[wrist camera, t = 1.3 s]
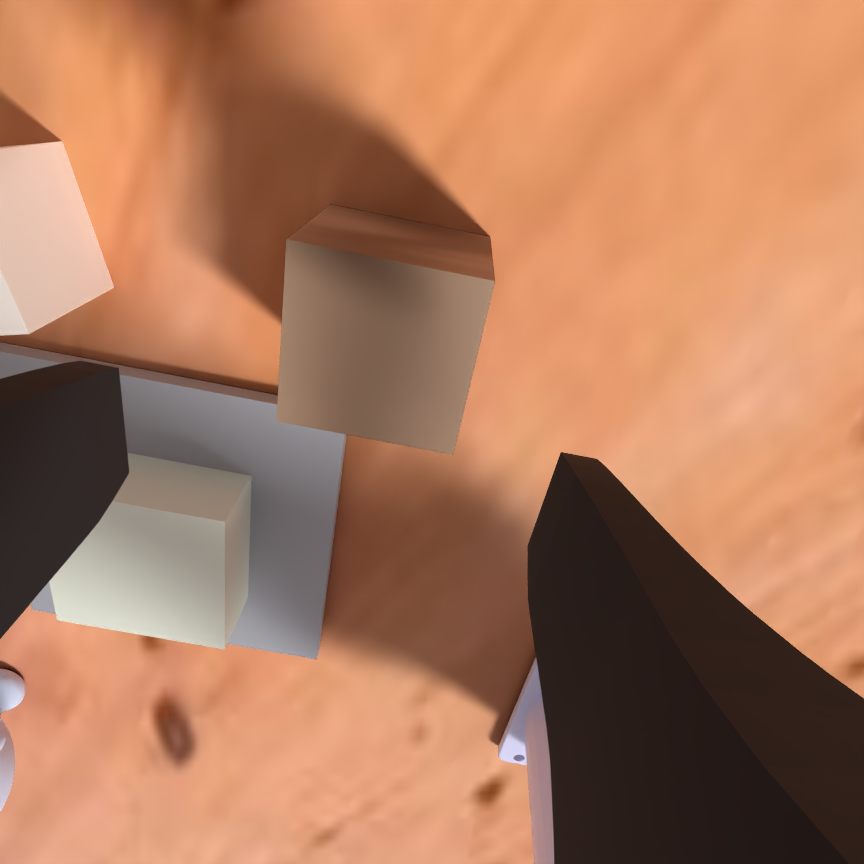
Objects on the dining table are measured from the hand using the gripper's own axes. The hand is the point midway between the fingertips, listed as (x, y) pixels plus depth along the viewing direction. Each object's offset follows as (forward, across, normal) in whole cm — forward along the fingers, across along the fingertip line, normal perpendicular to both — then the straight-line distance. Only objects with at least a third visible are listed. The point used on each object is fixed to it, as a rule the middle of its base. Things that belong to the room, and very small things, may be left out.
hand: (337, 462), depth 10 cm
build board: (+9, +7, +10) cm, 15 cm away
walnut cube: (+9, 0, 0) cm, 9 cm away
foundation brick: (+8, +7, +10) cm, 15 cm away
